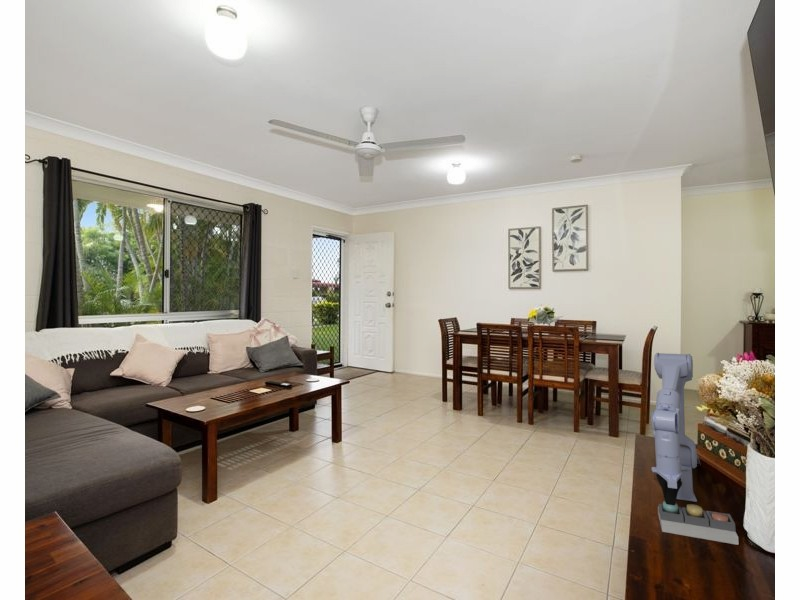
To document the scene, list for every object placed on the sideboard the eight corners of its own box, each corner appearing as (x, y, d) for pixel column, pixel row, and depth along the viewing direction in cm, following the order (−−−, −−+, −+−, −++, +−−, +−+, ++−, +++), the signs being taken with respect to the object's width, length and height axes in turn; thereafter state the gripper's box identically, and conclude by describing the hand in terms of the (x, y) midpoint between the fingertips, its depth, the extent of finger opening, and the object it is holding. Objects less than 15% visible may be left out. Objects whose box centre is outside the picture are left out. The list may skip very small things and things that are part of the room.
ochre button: (686, 510, 114) (685, 503, 114) (701, 512, 112) (700, 505, 112) (688, 516, 111) (687, 509, 111) (703, 518, 109) (703, 511, 109)
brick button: (710, 518, 111) (710, 511, 111) (726, 520, 110) (726, 513, 110) (713, 524, 108) (713, 517, 108) (730, 527, 107) (729, 520, 107)
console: (658, 513, 119) (657, 499, 119) (728, 524, 112) (727, 509, 112) (662, 531, 110) (661, 516, 110) (738, 544, 103) (737, 528, 103)
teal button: (662, 506, 116) (662, 499, 116) (676, 508, 115) (676, 501, 115) (664, 512, 113) (663, 505, 113) (678, 514, 112) (678, 507, 112)
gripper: (648, 443, 122) (650, 489, 122) (653, 461, 109) (655, 513, 109) (676, 446, 119) (679, 493, 119) (685, 465, 106) (688, 518, 106)
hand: (670, 503), depth 114 cm, fingers closed
